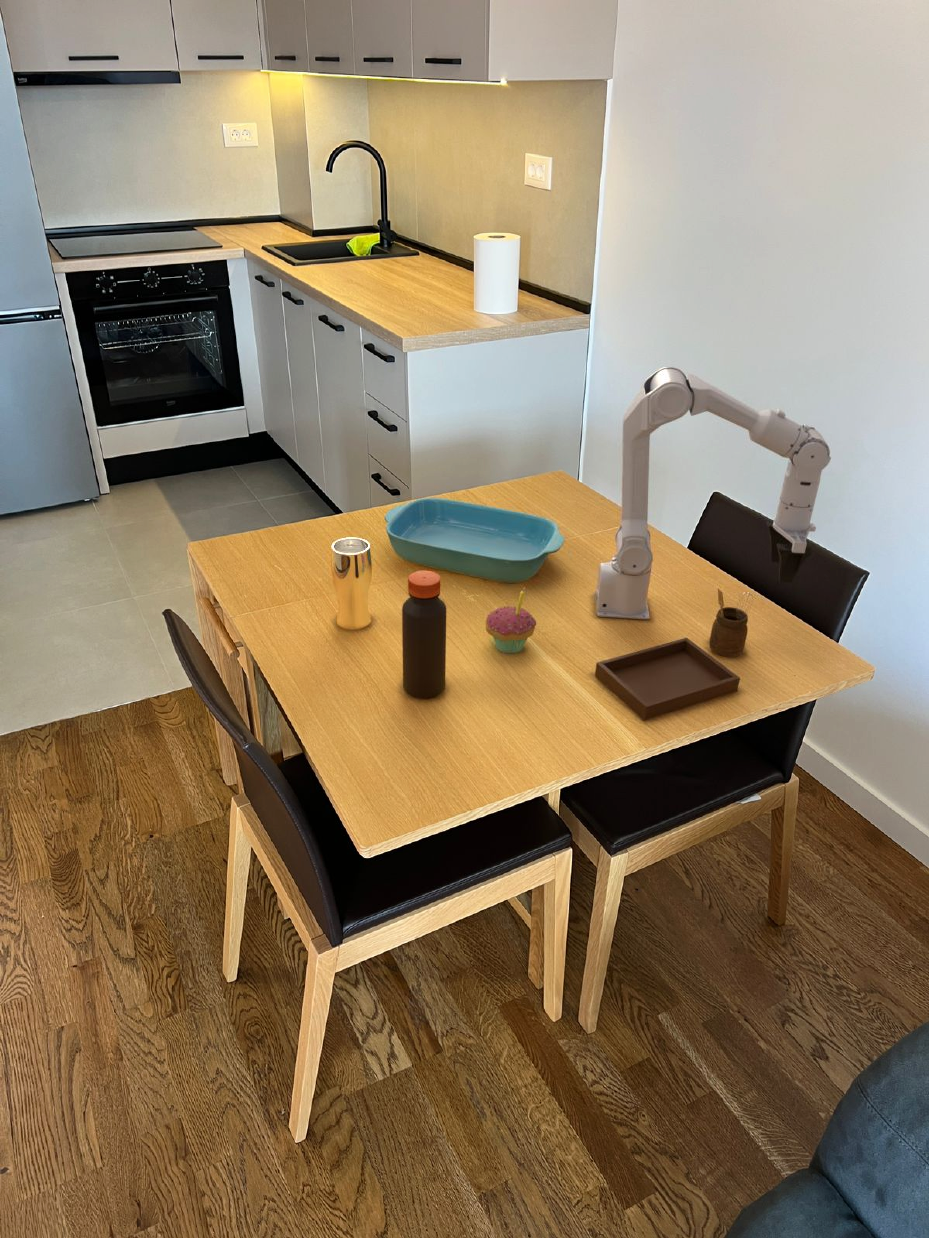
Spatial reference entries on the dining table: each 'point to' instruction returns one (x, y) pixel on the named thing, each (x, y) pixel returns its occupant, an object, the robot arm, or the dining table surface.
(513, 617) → the cupcake
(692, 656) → the tray
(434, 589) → the bottle
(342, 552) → the beer glass
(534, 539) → the casserole dish
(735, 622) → the utensil holder
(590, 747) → the dining table surface
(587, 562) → the dining table surface
